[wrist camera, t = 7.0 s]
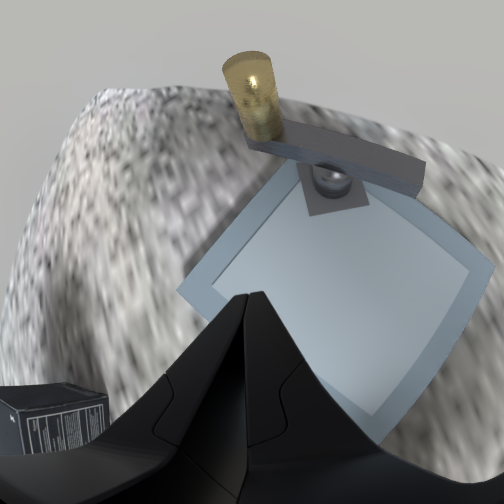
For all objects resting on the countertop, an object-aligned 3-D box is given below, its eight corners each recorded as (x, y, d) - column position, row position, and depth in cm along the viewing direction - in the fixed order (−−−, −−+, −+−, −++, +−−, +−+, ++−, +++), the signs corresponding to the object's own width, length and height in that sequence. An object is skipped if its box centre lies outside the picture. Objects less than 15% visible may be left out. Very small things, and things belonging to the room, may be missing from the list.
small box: (62, 379, 23) (-22, 381, 13) (110, 394, 22) (18, 408, 12) (70, 468, 21) (-1, 491, 11) (118, 490, 19) (46, 529, 9)
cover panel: (366, 442, 17) (372, 453, 15) (186, 294, 23) (173, 289, 21) (483, 270, 19) (497, 263, 17) (312, 146, 24) (311, 129, 22)
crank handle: (400, 223, 19) (454, 140, 9) (252, 176, 22) (212, 80, 13) (408, 189, 19) (454, 98, 10) (266, 146, 22) (236, 47, 13)
